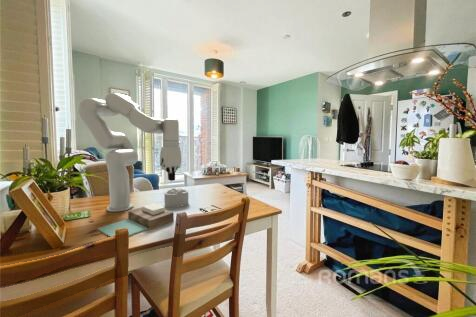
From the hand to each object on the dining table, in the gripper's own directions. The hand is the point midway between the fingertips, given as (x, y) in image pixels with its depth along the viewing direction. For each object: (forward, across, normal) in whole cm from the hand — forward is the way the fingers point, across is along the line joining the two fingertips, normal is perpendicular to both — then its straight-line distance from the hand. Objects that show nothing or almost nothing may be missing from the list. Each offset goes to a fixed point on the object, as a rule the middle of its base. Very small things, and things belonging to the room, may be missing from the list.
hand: (171, 180), depth 109 cm
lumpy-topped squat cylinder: (+17, -10, -10) cm, 22 cm away
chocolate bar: (+18, -15, +17) cm, 29 cm away
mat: (+17, +25, 0) cm, 30 cm away
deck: (+17, +12, 0) cm, 21 cm away
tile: (+13, +10, 0) cm, 17 cm away
